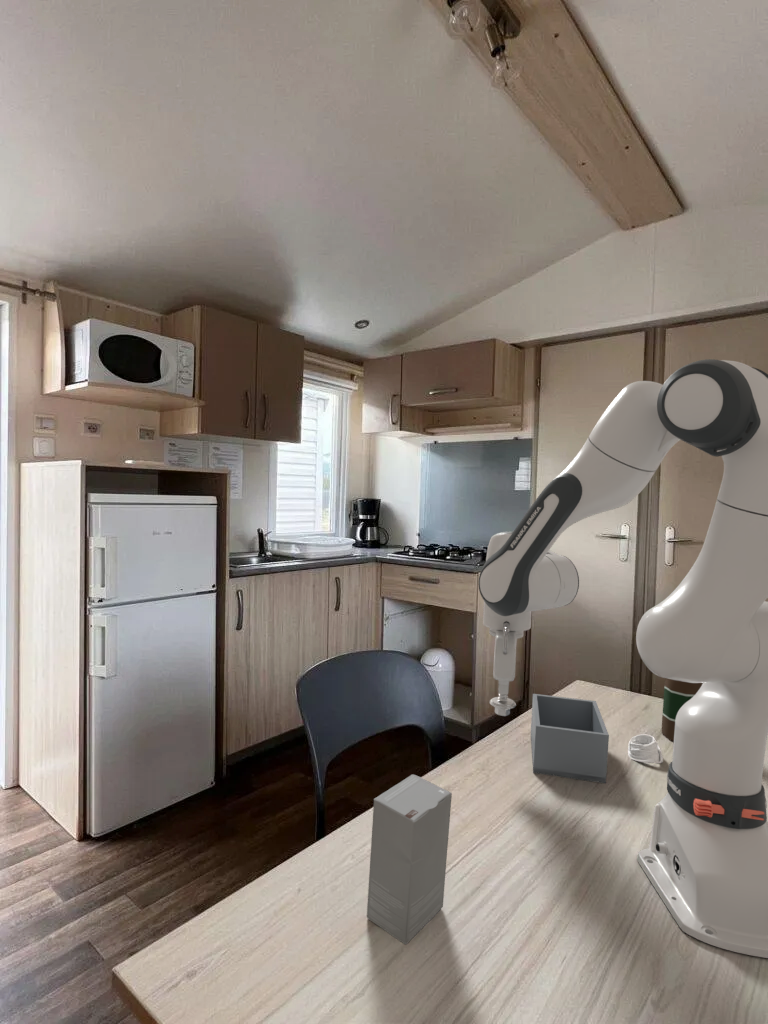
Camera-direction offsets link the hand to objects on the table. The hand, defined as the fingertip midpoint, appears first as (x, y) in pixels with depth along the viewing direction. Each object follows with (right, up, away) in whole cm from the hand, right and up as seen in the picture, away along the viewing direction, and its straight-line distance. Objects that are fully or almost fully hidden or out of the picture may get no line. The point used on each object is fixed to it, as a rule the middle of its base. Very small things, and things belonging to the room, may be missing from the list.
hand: (503, 690), depth 111 cm
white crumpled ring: (+31, -17, +9) cm, 36 cm away
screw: (0, -5, 0) cm, 5 cm away
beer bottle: (+43, -17, +20) cm, 50 cm away
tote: (+14, -16, +8) cm, 23 cm away
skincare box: (-20, -17, -38) cm, 46 cm away
